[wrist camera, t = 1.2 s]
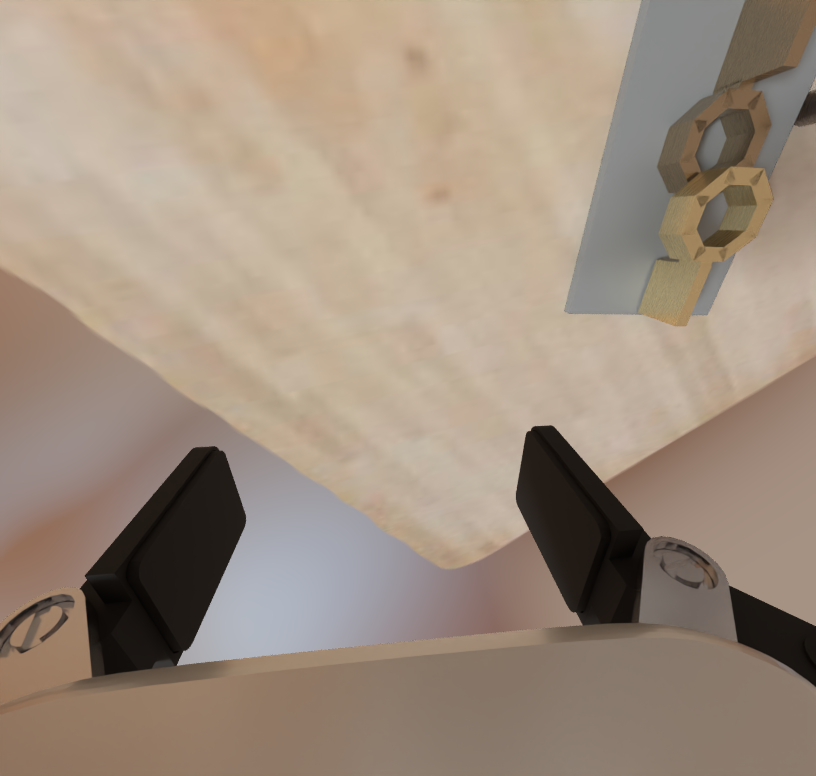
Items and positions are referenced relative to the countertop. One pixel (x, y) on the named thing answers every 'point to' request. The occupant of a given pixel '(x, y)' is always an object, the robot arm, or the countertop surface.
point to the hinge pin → (807, 110)
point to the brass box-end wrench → (684, 279)
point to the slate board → (643, 142)
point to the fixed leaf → (740, 89)
